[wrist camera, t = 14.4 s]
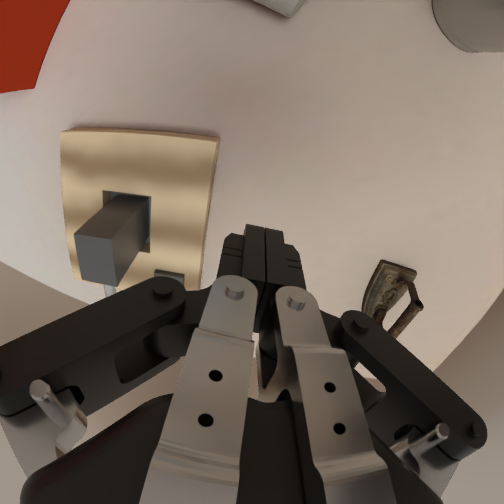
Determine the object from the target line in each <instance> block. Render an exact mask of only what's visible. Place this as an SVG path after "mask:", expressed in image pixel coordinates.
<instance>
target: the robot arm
mask: <svg viewBox="0 0 504 504" xmlns="http://www.w3.org/2000/svg"><path fill="white" fill-rule="evenodd" d="M433 11H434V15H435V18H436V20H437V22H438V25H439V26H440V28H441V30H442V31H443V33H444V34H445V35H446V37H447V38H448V39H449V40H450V41H451V42H452V43H453V44H454V45H456V46H457V47H458V48H460V49H462V50H463V51H466V52H504V0H433ZM253 332H255V333H259V341H258V344H257V346H256V365H257V378H258V392H259V395H258V400H255V399H252V398H248V392H249V384H250V376H251V369H252V361H253V353H254V341H252V334H253ZM181 356H185V360H184V363H183V366H182V369H181V372H180V375H179V378H178V381H177V385H176V388H175V391H174V393H172V394H167V395H163V396H159V397H156V398H153V399H151V400H149V401H147V402H145V403H143V404H142V405H140V406H139V407H137V408H136V409H134V410H133V411H131V412H130V413H128V414H127V415H126V416H124V417H123V418H121V419H120V420H118V421H117V422H115V423H114V424H112V425H111V426H109V427H108V428H106V429H104V430H103V431H101V432H100V433H98V434H97V435H95V436H94V437H92V438H90V439H89V440H87V441H86V442H84V443H83V444H81V445H79V446H78V447H76V448H74V449H73V450H71V449H72V447H73V446H74V444H75V443H76V442H77V441H79V440H80V439H81V438H82V437H83V436H84V434H85V432H86V430H87V418H86V417H87V416H88V415H90V414H92V413H94V412H95V411H97V410H99V409H101V408H102V407H104V406H106V405H107V404H109V403H111V402H112V401H114V400H116V399H117V398H119V397H121V396H122V395H124V394H126V393H128V392H129V391H131V390H132V389H134V388H136V387H137V386H139V385H141V384H142V383H144V382H145V381H147V380H149V379H150V378H152V377H153V376H155V375H156V374H158V373H160V372H161V371H163V370H164V369H166V368H167V367H169V366H171V365H172V364H174V363H175V362H177V361H178V360H179V359H180V357H181ZM359 362H360V363H361V364H362V365H363V366H364V367H365V368H366V369H368V370H369V371H370V372H371V373H372V374H373V375H374V376H375V377H376V378H377V379H378V380H379V381H380V382H381V383H382V384H383V385H384V386H385V388H386V392H379V391H378V390H376V389H375V388H374V387H373V386H372V385H371V384H370V383H369V382H368V381H367V380H366V379H365V378H364V377H362V376H361V375H360V374H359V373H358V372H357V371H356V370H355V369H354V368H355V366H356V365H357V364H358V363H359ZM0 422H1V425H2V427H3V430H4V432H5V434H6V437H7V439H8V441H9V443H10V445H11V448H12V450H13V452H14V454H15V456H16V458H17V459H18V462H19V463H20V465H21V467H22V469H23V470H24V472H25V474H26V476H27V478H28V479H27V480H26V482H25V483H24V485H23V488H22V491H21V496H20V504H443V502H442V500H441V498H440V497H441V495H442V493H443V492H444V490H445V488H446V487H447V485H448V483H449V481H450V479H451V478H452V476H453V474H454V472H455V470H456V468H457V466H458V464H459V462H460V461H461V460H462V459H463V458H465V457H466V456H468V455H470V454H472V453H473V452H475V451H476V450H478V449H480V448H481V447H482V446H483V445H484V444H485V442H486V440H487V428H486V425H485V423H484V421H483V419H482V418H481V417H480V416H479V415H478V414H477V413H476V412H475V411H474V410H473V409H472V408H471V407H470V406H469V405H468V404H466V403H465V402H464V401H463V400H462V399H461V398H460V397H459V396H458V395H457V394H456V393H455V392H454V391H453V390H452V389H450V388H449V387H448V386H447V385H446V384H445V383H444V382H443V381H442V380H441V379H440V378H438V377H437V376H436V375H435V374H434V373H433V372H432V371H431V370H430V369H429V368H427V367H426V366H425V365H424V364H423V363H422V362H421V361H420V360H419V359H417V358H416V357H415V356H414V355H413V354H412V353H411V352H410V351H408V350H407V349H406V348H405V347H404V346H403V345H402V344H401V343H399V342H398V341H397V340H396V339H395V338H394V337H393V336H392V335H390V334H389V333H388V332H387V331H386V330H385V329H383V328H382V327H381V326H380V325H379V324H378V323H377V322H375V321H374V320H373V319H372V318H371V317H369V316H368V315H367V314H365V313H363V312H360V311H356V310H349V311H346V312H345V313H343V315H342V316H341V318H338V317H336V316H333V315H330V314H328V313H326V312H323V311H322V310H320V309H319V306H318V303H317V301H316V299H315V297H314V296H313V295H312V294H311V293H309V292H308V291H307V290H306V285H305V280H304V275H303V270H302V265H301V260H300V255H299V253H298V251H297V250H296V249H295V248H294V246H293V245H288V244H285V243H284V236H283V231H279V230H274V229H269V228H264V227H259V226H255V225H250V224H246V226H245V230H244V235H239V234H234V233H231V234H230V235H228V236H227V237H226V238H225V240H224V244H223V249H222V254H221V259H220V263H219V268H218V273H217V278H216V280H215V281H214V282H213V284H212V285H211V286H210V287H208V288H205V289H202V290H194V291H186V289H185V287H184V285H183V284H182V283H181V282H179V281H178V280H176V279H173V278H171V277H165V276H157V277H152V278H149V279H147V280H145V281H142V282H140V283H138V284H136V285H133V286H131V287H129V288H126V289H124V290H122V291H120V292H117V293H115V294H113V295H111V296H108V297H106V298H104V299H102V300H100V301H97V302H95V303H93V304H91V305H88V306H86V307H84V308H82V309H80V310H77V311H75V312H73V313H71V314H69V315H67V316H64V317H62V318H60V319H58V320H56V321H53V322H51V323H49V324H47V325H45V326H43V327H41V328H38V329H36V330H34V331H32V332H30V333H28V334H25V335H23V336H21V337H19V338H17V339H15V340H13V341H11V342H8V343H6V344H4V345H2V346H0Z"/></svg>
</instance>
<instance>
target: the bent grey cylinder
mask: <svg viewBox="0 0 504 504" xmlns="http://www.w3.org/2000/svg"><path fill="white" fill-rule="evenodd" d="M253 1H255V2H257V3H260V4H262V5H264V6H266V7H268V8H270V9H272V10H274V11H276V12H278V13H280V14H282V15H284V16H286V17H288V18H291V17H292V16H293V15H294V14H295V12H296V11H297V10H298V9H299V8H300V7H301V5H302V4H303V3H304V2H305V0H253Z"/></svg>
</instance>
